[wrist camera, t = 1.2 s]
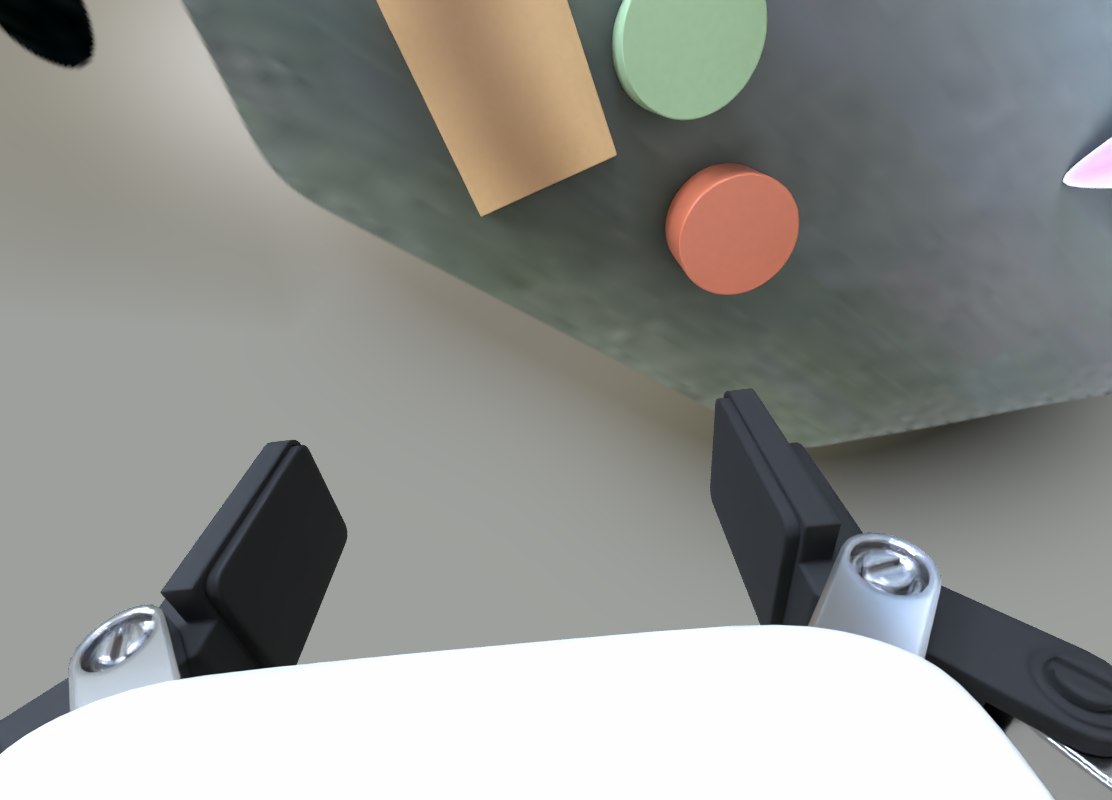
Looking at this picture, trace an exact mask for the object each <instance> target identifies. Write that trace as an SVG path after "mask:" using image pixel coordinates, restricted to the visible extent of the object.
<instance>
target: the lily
mask: <svg viewBox="0 0 1112 800" xmlns="http://www.w3.org/2000/svg"><path fill="white" fill-rule="evenodd" d="M1063 182H1064V183H1065V184H1067V185H1068V186H1075V187H1082V188H1112V137H1111V138H1110V139H1109V140H1107V141H1106V142H1104V143H1103V144H1102V145H1100V146H1099V147H1097V148H1096V149H1095V150H1093V151H1092V152H1091V153H1090V154H1088V155H1087V156H1086V157H1084V158H1083V159H1082V160H1081V161H1079V162H1078V163H1077V164H1076V165H1075V166H1074V167H1072V168H1071V169H1070V170H1069V171H1068V172H1067V173H1066V174H1065V177H1064V179H1063Z"/></svg>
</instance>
